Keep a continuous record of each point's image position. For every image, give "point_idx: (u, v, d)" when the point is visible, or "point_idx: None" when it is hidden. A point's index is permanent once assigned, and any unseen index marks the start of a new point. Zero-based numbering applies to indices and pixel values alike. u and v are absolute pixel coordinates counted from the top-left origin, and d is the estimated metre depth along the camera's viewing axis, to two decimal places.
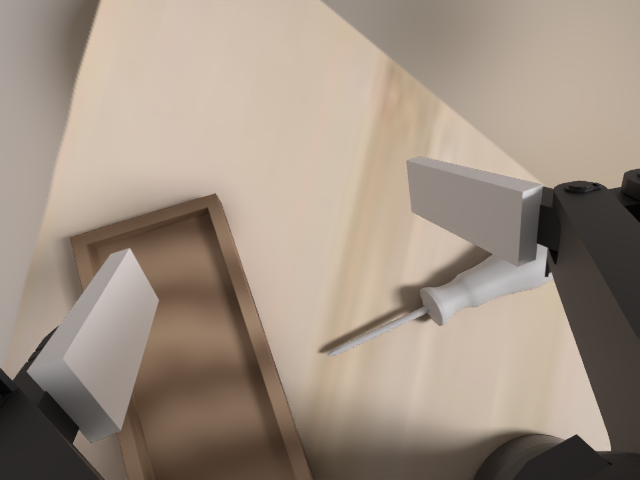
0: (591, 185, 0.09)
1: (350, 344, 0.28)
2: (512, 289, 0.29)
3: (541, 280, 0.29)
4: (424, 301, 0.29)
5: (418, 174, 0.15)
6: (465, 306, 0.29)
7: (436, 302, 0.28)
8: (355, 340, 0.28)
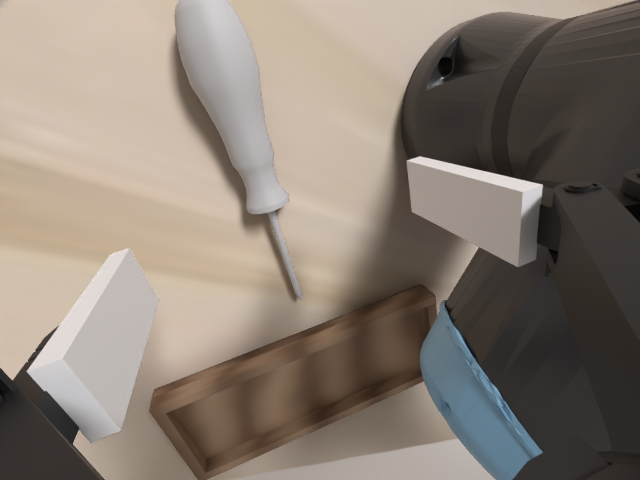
0: (591, 185, 0.09)
1: (294, 283, 0.30)
2: (258, 109, 0.22)
3: (250, 64, 0.21)
4: None
5: (418, 174, 0.15)
6: (272, 171, 0.25)
7: (266, 211, 0.25)
8: (292, 279, 0.30)
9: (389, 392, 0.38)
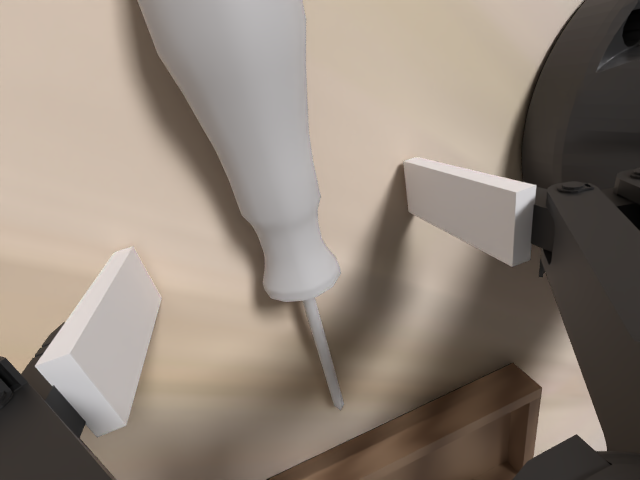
0: (584, 185, 0.09)
1: (334, 391, 0.19)
2: (300, 109, 0.11)
3: (292, 7, 0.09)
4: None
5: (414, 174, 0.15)
6: (316, 225, 0.13)
7: (302, 299, 0.13)
8: (331, 386, 0.18)
9: None
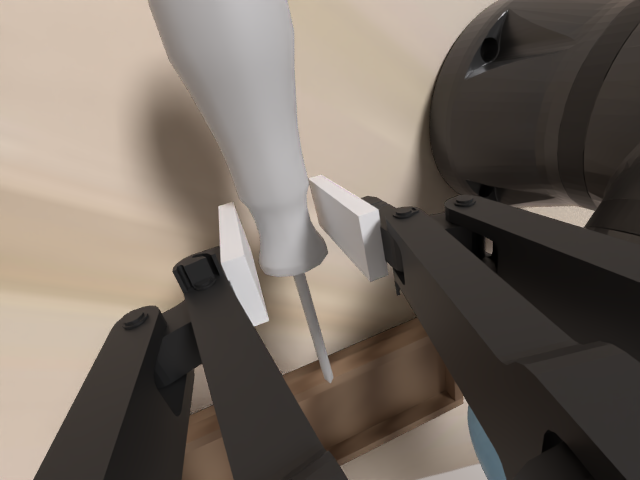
0: (412, 210, 0.10)
1: (324, 364, 0.20)
2: (290, 107, 0.13)
3: (282, 22, 0.11)
4: None
5: (315, 192, 0.16)
6: (305, 209, 0.15)
7: (292, 274, 0.15)
8: (321, 359, 0.20)
9: (405, 428, 0.33)
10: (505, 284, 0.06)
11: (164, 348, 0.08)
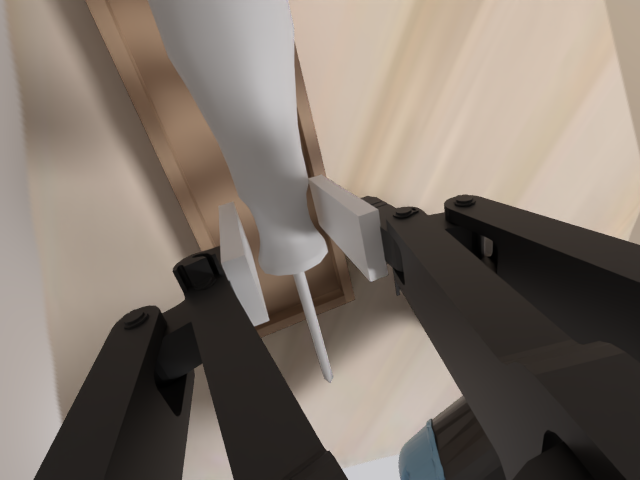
0: (411, 210, 0.10)
1: (324, 364, 0.20)
2: (290, 104, 0.12)
3: (282, 18, 0.11)
4: None
5: (315, 192, 0.16)
6: (305, 207, 0.15)
7: (292, 272, 0.15)
8: (320, 358, 0.20)
9: None
10: (505, 285, 0.06)
11: (164, 348, 0.08)
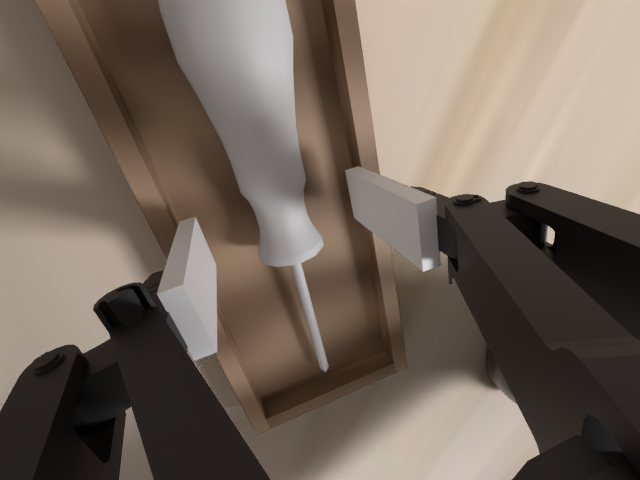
0: (473, 197, 0.10)
1: (320, 353, 0.21)
2: (289, 107, 0.14)
3: (281, 28, 0.12)
4: None
5: (353, 183, 0.16)
6: (302, 203, 0.16)
7: (289, 264, 0.16)
8: (316, 348, 0.21)
9: (230, 358, 0.19)
10: (565, 277, 0.06)
11: (86, 390, 0.08)
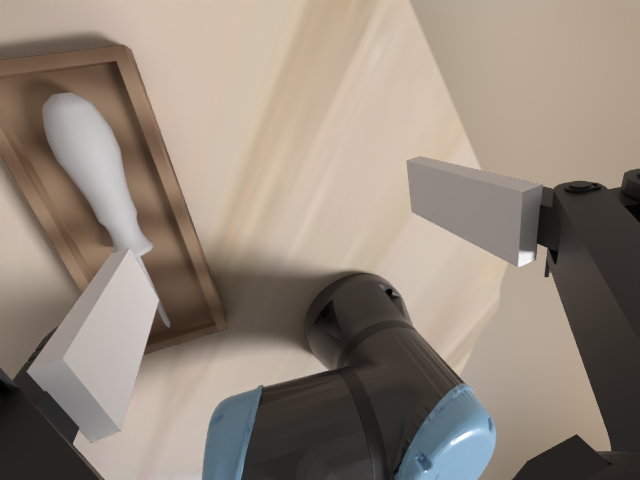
0: (591, 185, 0.09)
1: (161, 314, 0.36)
2: (116, 182, 0.28)
3: (106, 151, 0.26)
4: None
5: (418, 174, 0.15)
6: (134, 227, 0.30)
7: None
8: (159, 310, 0.35)
9: None
10: None
11: None
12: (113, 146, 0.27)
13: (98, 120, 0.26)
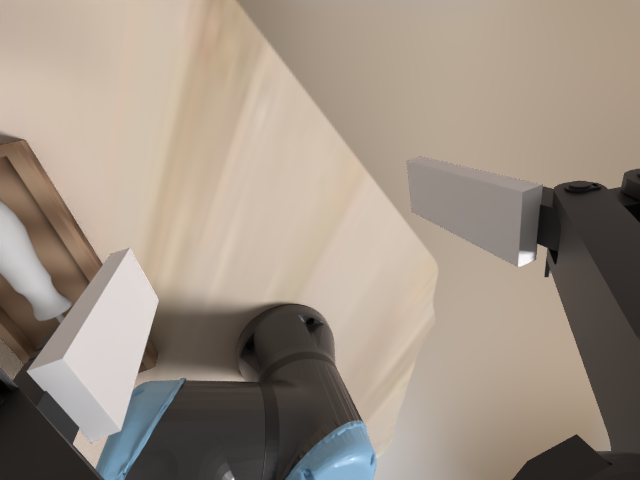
0: (591, 185, 0.09)
1: None
2: (23, 258, 0.32)
3: (8, 234, 0.30)
4: None
5: (418, 174, 0.15)
6: (48, 291, 0.34)
7: (44, 319, 0.35)
8: None
9: None
10: None
11: None
12: (15, 229, 0.31)
13: None
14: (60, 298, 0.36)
